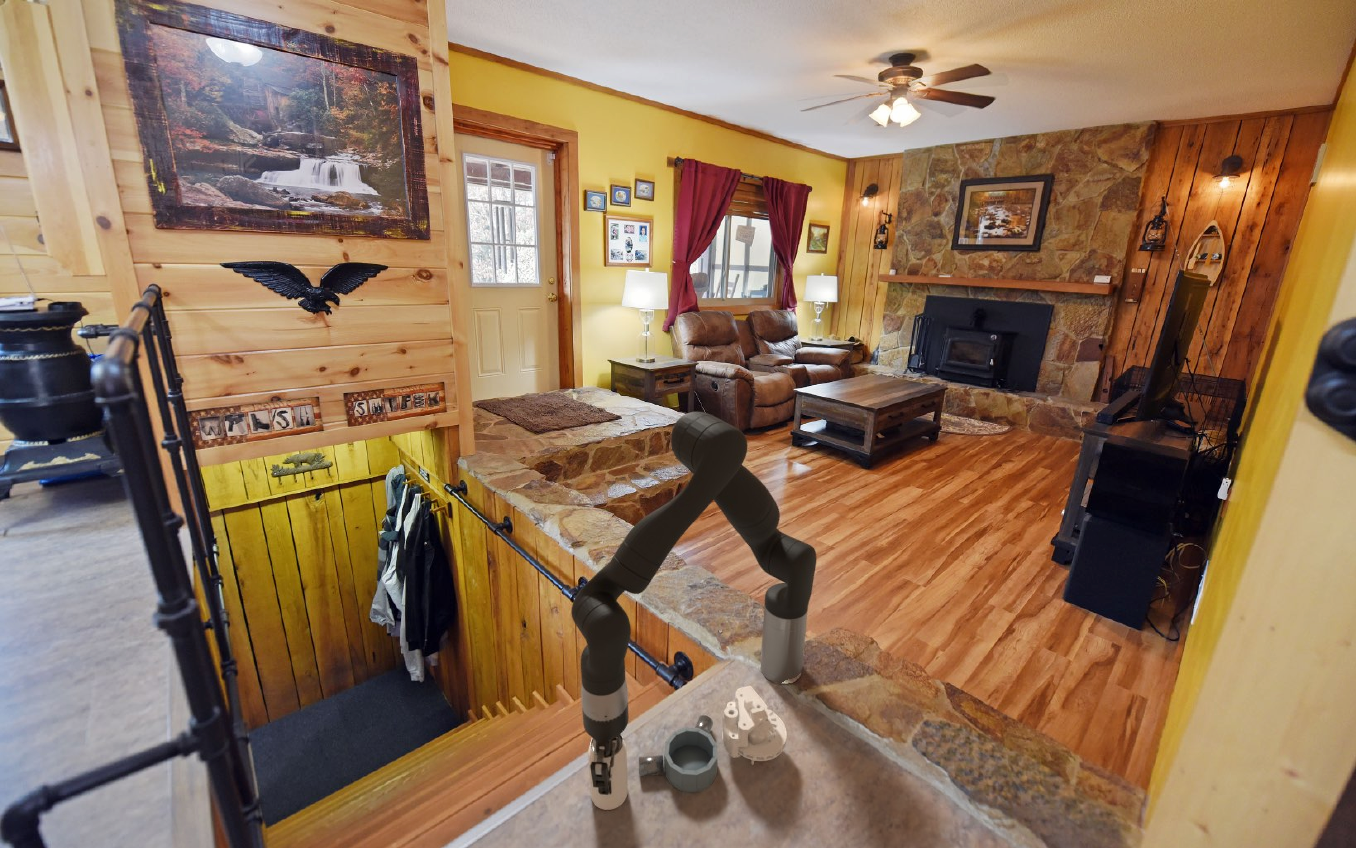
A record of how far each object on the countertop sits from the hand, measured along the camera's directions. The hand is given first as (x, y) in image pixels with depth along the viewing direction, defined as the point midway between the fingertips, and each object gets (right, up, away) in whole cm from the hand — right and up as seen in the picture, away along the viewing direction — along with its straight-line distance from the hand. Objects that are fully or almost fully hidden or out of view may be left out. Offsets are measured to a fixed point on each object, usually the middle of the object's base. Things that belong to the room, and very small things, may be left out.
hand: (609, 774), depth 97 cm
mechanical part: (+26, -1, +9) cm, 28 cm away
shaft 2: (+17, 0, +12) cm, 21 cm away
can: (0, -4, +1) cm, 4 cm away
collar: (+14, -2, +6) cm, 16 cm away
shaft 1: (+7, -3, +5) cm, 9 cm away
